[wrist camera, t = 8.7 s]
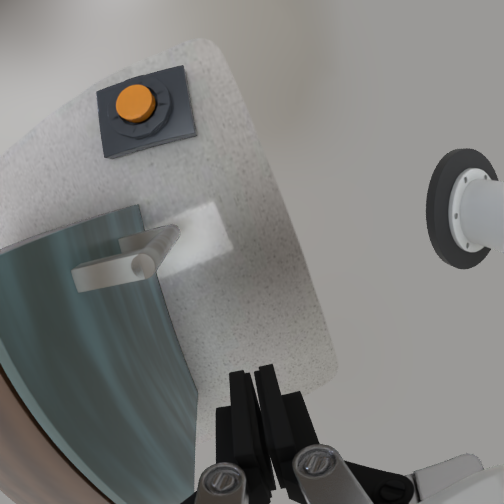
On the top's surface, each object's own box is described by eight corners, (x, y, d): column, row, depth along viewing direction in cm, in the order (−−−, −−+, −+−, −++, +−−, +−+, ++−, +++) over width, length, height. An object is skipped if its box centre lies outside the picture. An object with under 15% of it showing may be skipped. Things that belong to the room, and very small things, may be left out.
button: (153, 85, 23) (149, 79, 22) (157, 117, 24) (154, 113, 23) (119, 95, 23) (114, 91, 21) (123, 127, 24) (118, 124, 22)
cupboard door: (183, 192, 30) (73, 231, 7) (234, 387, 37) (254, 547, 13) (130, 206, 29) (-39, 271, 6) (191, 394, 36) (183, 550, 13)
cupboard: (129, 206, 30) (-43, 274, 6) (189, 393, 36) (181, 551, 13) (18, 241, 28) (-117, 310, 5) (86, 400, 35) (37, 519, 12)
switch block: (185, 71, 27) (181, 58, 23) (196, 136, 29) (193, 129, 25) (103, 96, 26) (89, 87, 22) (111, 159, 28) (97, 156, 24)
